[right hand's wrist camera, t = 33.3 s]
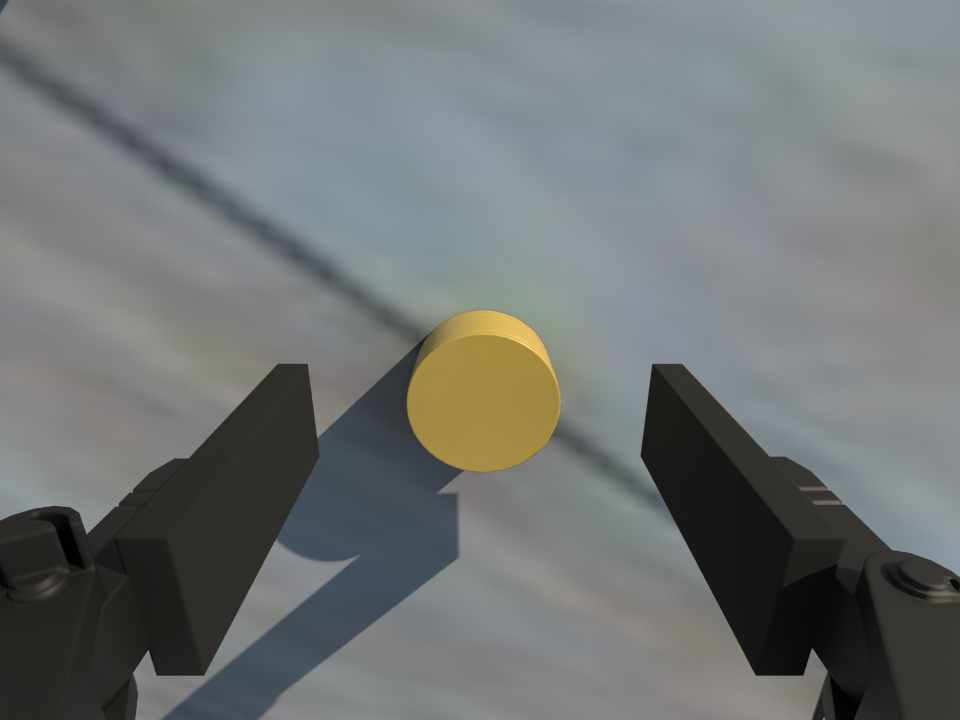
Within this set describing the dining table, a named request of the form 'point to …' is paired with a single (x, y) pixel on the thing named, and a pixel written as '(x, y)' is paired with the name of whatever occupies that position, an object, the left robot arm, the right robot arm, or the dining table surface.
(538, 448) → the cap
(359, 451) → the dining table surface
